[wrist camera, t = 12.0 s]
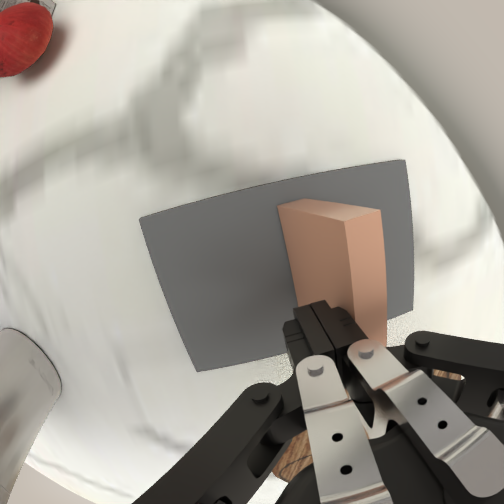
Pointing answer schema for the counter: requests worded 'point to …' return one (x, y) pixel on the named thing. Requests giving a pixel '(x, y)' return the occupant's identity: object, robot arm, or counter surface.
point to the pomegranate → (23, 36)
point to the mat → (264, 259)
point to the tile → (338, 259)
